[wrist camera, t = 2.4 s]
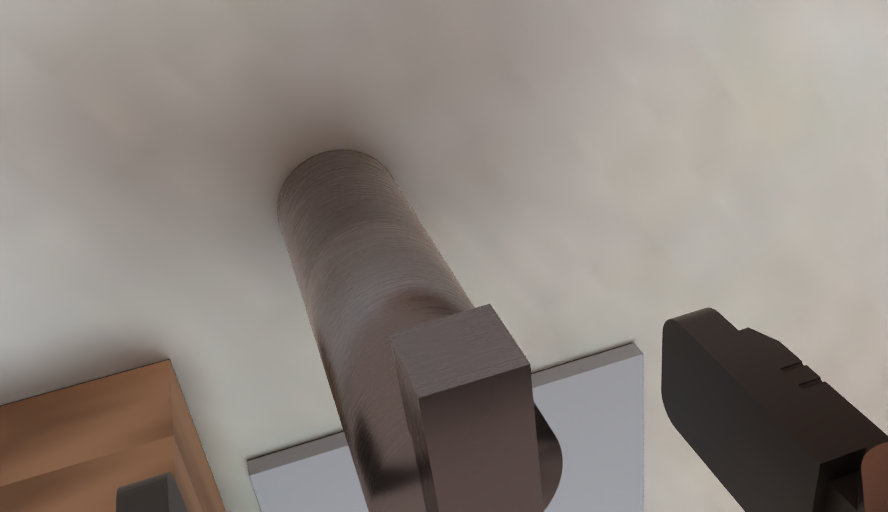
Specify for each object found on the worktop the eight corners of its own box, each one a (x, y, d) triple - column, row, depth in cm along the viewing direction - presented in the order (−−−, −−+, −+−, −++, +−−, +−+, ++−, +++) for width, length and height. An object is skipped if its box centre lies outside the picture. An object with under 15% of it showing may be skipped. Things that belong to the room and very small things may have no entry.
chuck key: (377, 77, 20) (591, 345, 10) (413, 291, 23) (603, 646, 13) (249, 106, 19) (351, 418, 10) (304, 321, 22) (422, 714, 13)
